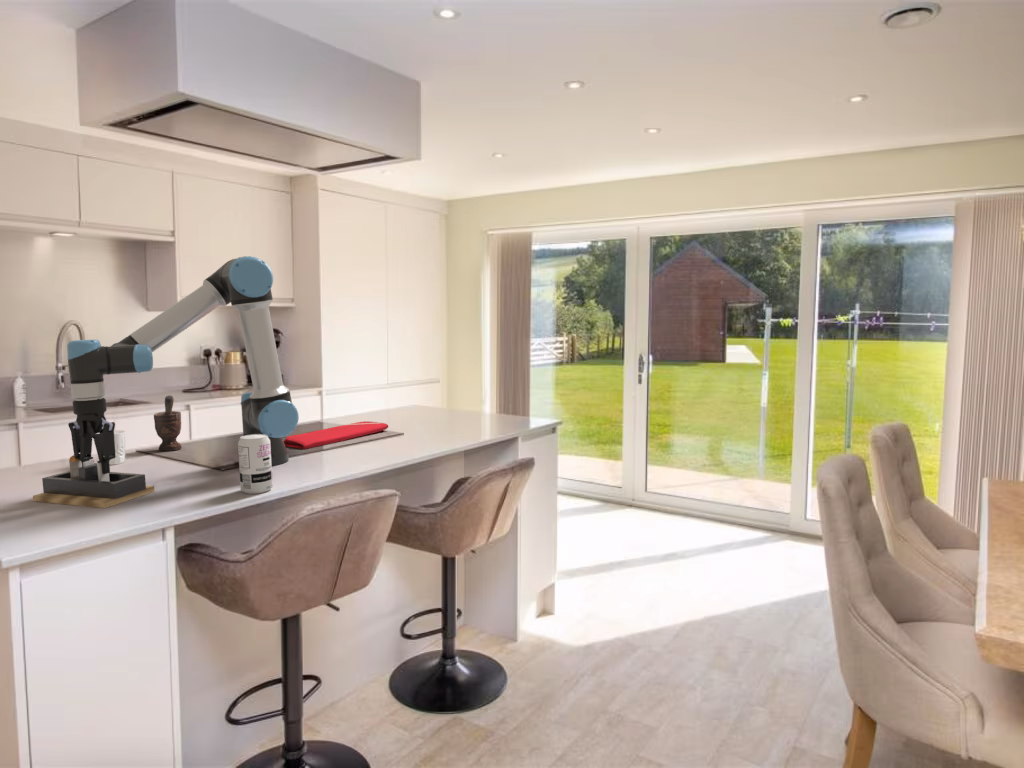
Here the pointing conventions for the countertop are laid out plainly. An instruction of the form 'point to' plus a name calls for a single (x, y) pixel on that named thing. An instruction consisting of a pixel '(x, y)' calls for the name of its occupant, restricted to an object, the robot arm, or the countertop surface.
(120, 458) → the white cup
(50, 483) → the dark grey tray
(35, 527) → the countertop surface
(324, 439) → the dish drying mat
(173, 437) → the mortar and pestle
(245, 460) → the supplement can
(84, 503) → the board
